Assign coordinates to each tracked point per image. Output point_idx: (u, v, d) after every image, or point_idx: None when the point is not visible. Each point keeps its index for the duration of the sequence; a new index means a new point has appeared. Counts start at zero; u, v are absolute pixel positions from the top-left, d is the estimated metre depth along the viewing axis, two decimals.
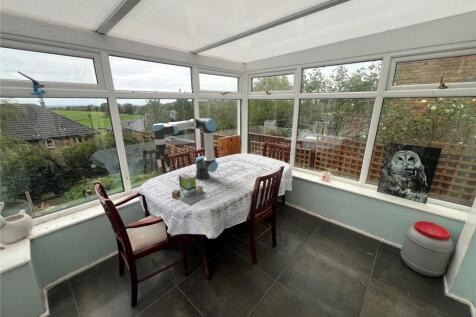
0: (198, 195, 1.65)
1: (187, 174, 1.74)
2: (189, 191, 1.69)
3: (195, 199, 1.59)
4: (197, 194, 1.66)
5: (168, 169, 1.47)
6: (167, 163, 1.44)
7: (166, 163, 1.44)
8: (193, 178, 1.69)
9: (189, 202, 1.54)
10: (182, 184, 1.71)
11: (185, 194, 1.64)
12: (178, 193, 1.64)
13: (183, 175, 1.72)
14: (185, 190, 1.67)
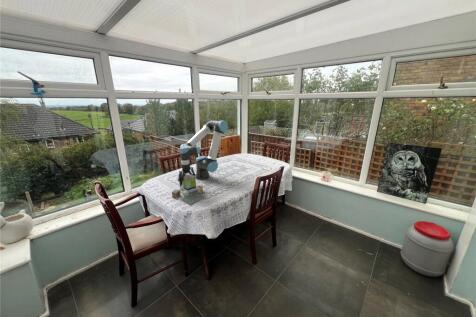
0: (198, 195, 1.65)
1: (187, 174, 1.74)
2: (189, 191, 1.69)
3: (195, 199, 1.59)
4: (197, 194, 1.66)
5: (182, 186, 1.70)
6: None
7: None
8: (193, 178, 1.69)
9: (189, 202, 1.54)
10: None
11: (185, 194, 1.64)
12: (178, 193, 1.64)
13: None
14: (185, 190, 1.67)
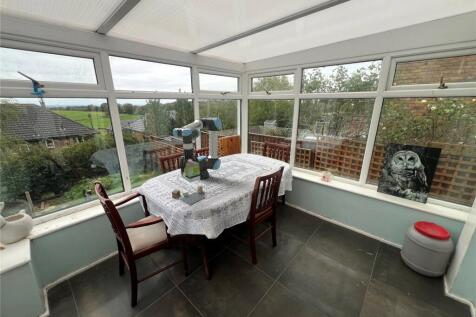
0: (198, 195, 1.65)
1: (189, 161, 1.53)
2: (192, 180, 1.48)
3: (195, 199, 1.59)
4: (197, 194, 1.66)
5: (184, 174, 1.49)
6: None
7: (181, 167, 1.48)
8: (196, 165, 1.48)
9: (189, 202, 1.54)
10: None
11: (185, 194, 1.64)
12: (178, 193, 1.64)
13: None
14: (185, 190, 1.67)
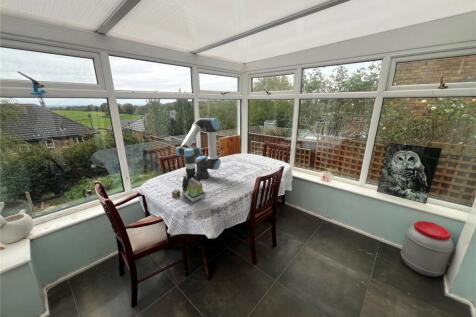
0: None
1: (192, 179, 1.57)
2: (194, 199, 1.54)
3: None
4: None
5: (186, 192, 1.54)
6: None
7: None
8: (200, 185, 1.53)
9: (189, 202, 1.54)
10: None
11: None
12: (178, 193, 1.64)
13: None
14: None
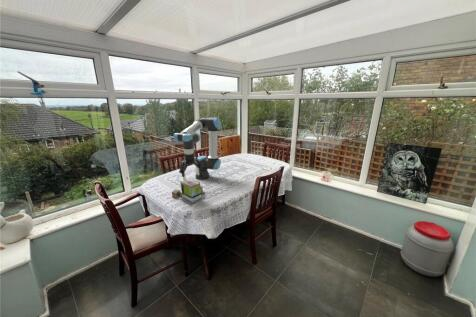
0: None
1: (190, 180, 1.59)
2: (194, 199, 1.55)
3: None
4: None
5: (184, 178, 1.49)
6: (181, 172, 1.47)
7: None
8: (198, 185, 1.55)
9: (189, 202, 1.54)
10: (186, 192, 1.56)
11: None
12: (178, 193, 1.64)
13: (186, 182, 1.57)
14: None
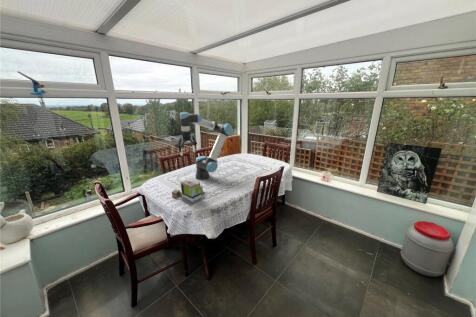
0: None
1: (190, 180, 1.59)
2: (194, 199, 1.55)
3: None
4: None
5: (181, 154, 1.63)
6: None
7: (178, 147, 1.61)
8: (198, 185, 1.55)
9: (189, 202, 1.54)
10: (186, 192, 1.56)
11: None
12: (178, 193, 1.64)
13: (186, 182, 1.57)
14: None
